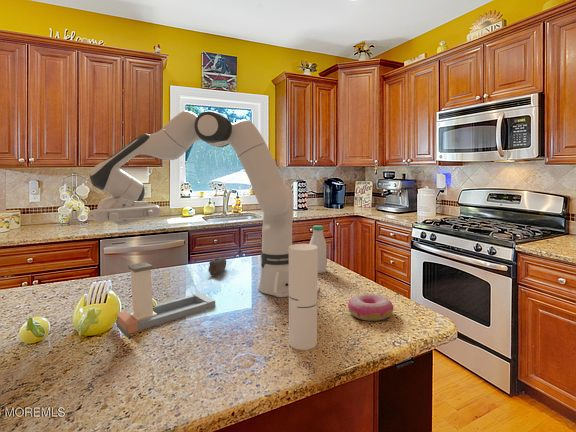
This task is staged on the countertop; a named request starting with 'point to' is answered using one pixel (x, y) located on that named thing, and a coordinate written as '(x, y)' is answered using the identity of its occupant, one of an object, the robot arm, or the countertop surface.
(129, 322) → the rail
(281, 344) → the countertop surface
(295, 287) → the cylindrical container
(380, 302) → the donut
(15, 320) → the countertop surface
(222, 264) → the perforated stone tool
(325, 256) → the milk bottle
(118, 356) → the countertop surface
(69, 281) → the countertop surface
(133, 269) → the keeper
